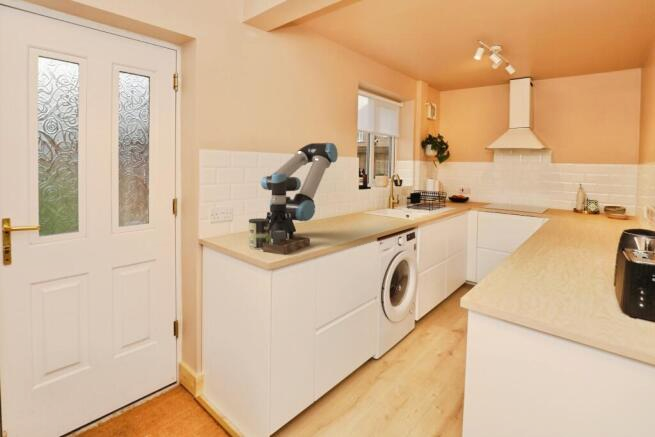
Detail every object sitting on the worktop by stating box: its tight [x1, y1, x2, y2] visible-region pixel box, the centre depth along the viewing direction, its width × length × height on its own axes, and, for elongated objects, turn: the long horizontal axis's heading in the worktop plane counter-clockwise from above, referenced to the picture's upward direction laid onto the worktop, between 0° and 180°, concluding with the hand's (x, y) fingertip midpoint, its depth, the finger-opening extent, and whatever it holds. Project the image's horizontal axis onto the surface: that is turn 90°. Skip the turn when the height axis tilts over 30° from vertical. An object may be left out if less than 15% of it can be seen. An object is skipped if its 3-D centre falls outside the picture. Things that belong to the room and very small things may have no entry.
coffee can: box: [248, 217, 271, 250], centre depth 184 cm, size 10×10×14 cm
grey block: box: [272, 230, 287, 245], centre depth 191 cm, size 6×4×7 cm, turn 152°
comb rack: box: [262, 235, 311, 256], centre depth 182 cm, size 23×12×4 cm, turn 152°
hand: (279, 244), depth 192 cm, fingers open, 12 cm apart
